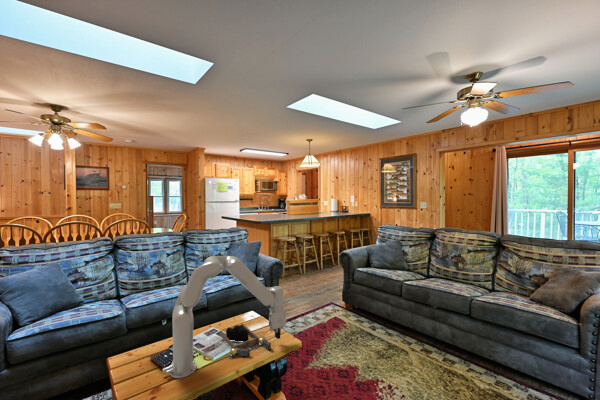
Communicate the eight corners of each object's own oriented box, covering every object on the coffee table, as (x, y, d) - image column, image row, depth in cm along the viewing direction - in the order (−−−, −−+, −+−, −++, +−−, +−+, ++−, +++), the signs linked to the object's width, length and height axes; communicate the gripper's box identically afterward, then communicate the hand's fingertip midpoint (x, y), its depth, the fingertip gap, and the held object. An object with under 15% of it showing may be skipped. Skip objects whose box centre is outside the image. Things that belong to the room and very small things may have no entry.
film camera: (252, 335, 168) (252, 321, 168) (247, 344, 159) (246, 329, 159) (230, 333, 171) (230, 319, 171) (223, 341, 162) (223, 327, 161)
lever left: (228, 356, 146) (228, 349, 146) (232, 351, 150) (232, 345, 150) (248, 358, 144) (248, 351, 144) (251, 353, 148) (251, 347, 148)
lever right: (257, 342, 159) (257, 337, 159) (263, 340, 162) (263, 334, 162) (266, 351, 150) (266, 345, 150) (273, 348, 153) (273, 342, 153)
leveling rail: (229, 359, 144) (229, 358, 144) (227, 356, 147) (227, 354, 147) (269, 343, 159) (269, 342, 159) (266, 340, 162) (266, 339, 162)
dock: (233, 351, 151) (233, 346, 150) (219, 335, 168) (219, 330, 168) (258, 342, 160) (258, 337, 160) (242, 327, 178) (242, 323, 178)
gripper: (269, 313, 150) (270, 345, 150) (290, 306, 159) (291, 336, 159) (263, 309, 156) (263, 339, 156) (283, 302, 165) (284, 331, 165)
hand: (277, 337), depth 158 cm, fingers closed
